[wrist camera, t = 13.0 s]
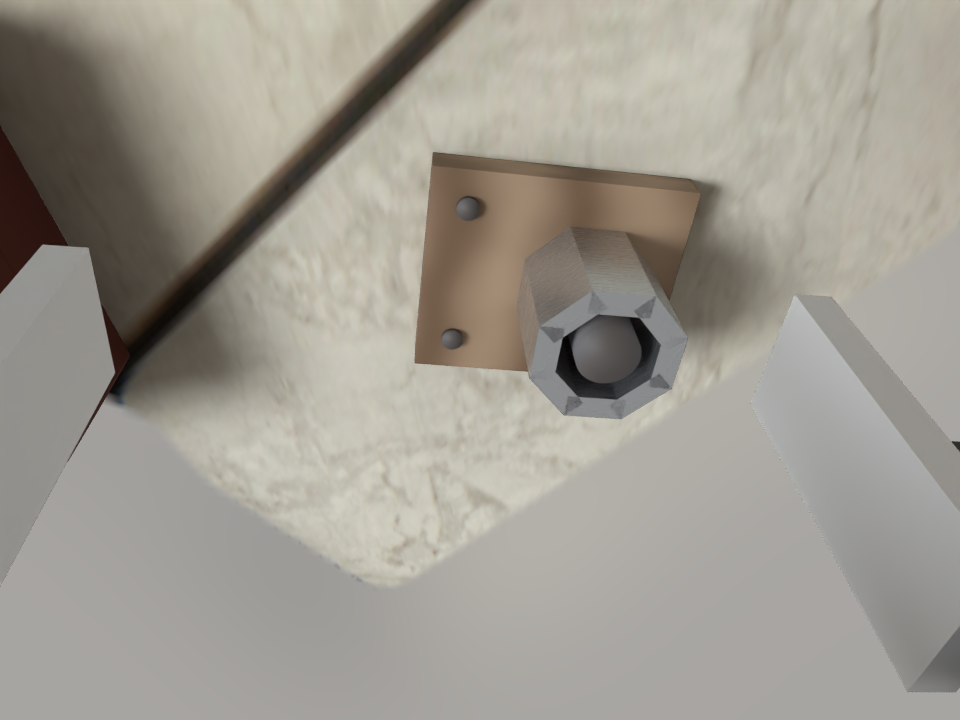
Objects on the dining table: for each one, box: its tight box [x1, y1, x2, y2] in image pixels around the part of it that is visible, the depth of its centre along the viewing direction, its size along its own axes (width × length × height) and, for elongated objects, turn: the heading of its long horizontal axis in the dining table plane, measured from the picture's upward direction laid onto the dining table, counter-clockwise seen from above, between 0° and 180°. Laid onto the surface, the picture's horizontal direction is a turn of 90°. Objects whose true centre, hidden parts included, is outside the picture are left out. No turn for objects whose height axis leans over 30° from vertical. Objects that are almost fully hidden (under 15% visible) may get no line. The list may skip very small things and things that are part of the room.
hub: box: [516, 227, 688, 419], centre depth 40 cm, size 7×7×7 cm
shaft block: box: [415, 153, 701, 383], centre depth 40 cm, size 14×12×9 cm
